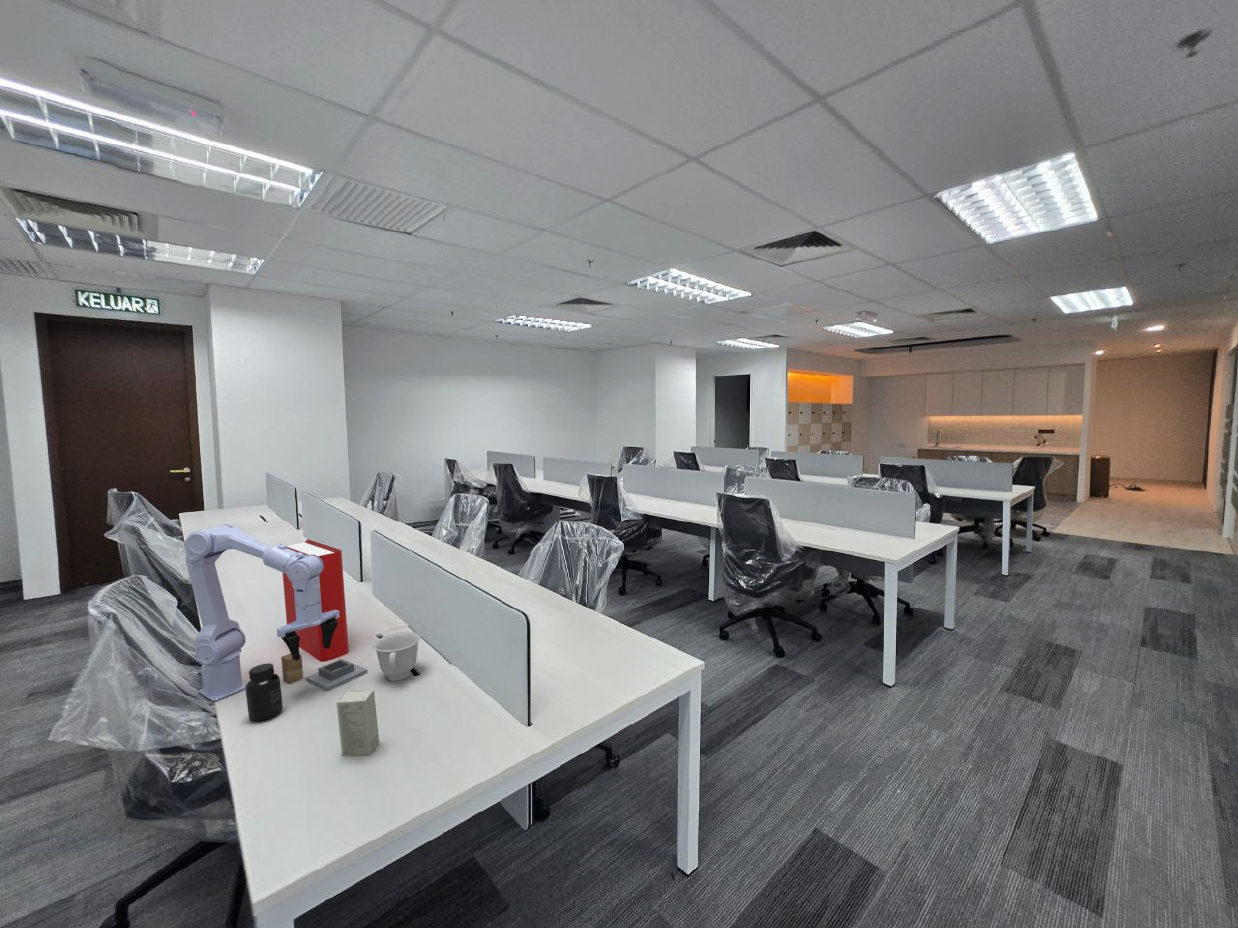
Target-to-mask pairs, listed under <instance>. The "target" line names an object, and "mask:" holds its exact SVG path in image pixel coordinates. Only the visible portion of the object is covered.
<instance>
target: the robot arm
mask: <svg viewBox="0 0 1238 928" xmlns="http://www.w3.org/2000/svg"><path fill="white" fill-rule="evenodd" d="M186 537H187V538H186V539H185V540H184V541H183V547H184V551H185V554H186V557H185V564H186V567H187V571H188V572H187V573H188V576H189V580H190V583H191V587H192V591H193V595H194V599H195V602H196V605H197V606H196V607H197V610H198V614H199V618H200V622H201V624H202V628H201V630H200V631H199V632H198V633H197V635H196V637H195V638H194V640H195V641H194V642H195V651H194V655H195V658H196V659H197V661H198V662H199V663H201V670H200V672H201V678H202V679H201V681H202V689H200V690H198V693H199V694H201V695H202V696H204V697H205V698H206V699H207V698H208V699H209V700H210V701H212V702H216V699H217V701H219V700H222V699H224V698H226V697H229V696H231V695H234V694H236V693H239V692H241V691H244V690H246V689H245V687H246V684H247V683H246V682H244V681H243V678H242V677H243V676H242V668H241V657H240V654H241V653H242V648H243V647H244V646H245V644H246V635H245V633H244V632H243V630H242V629H241V627H240V624H239V622H238V621H235V620H233V619H230V617H229V614H228V609H227V606H226V601H225V596H224V593H223V589H222V586H221V582H220V579H219V574H218V571H217V566H216V562H217V560H219V558H220V557H221V555H223V553H225V552H226V551H228V550H236V551H238V552H242V553H245V554H248V555H250V556H253V557H257V558H260V559H262V562H263V565H264V566H266V567H269V568H270V569H271V568H272V569H273V570H276V571H278V572H281V573H282V574H283V573H285V574H287V576H288V578H289V579H290V580H291V582H292V587H293V588H294V596H295V610H296V621H294V622H292V623H290V624H287V623H286V624H285V625H283V626H281V627H279V628H277V629H276V636H277V637H278V638H280V639H282V640H283V642H284V644H285V645H286V646H287V648H288V650H289V652H290V653H291V655H292V658H293V660H295V661H298V660H300V654H301V653H300V647H299V641H300V636H298V635H297V633H295V632H297V631H300V630H303V629H305V628H308V627H311V626H316V625H319V624H320V626H321V631H322V639H323V647H324V648H326V649H329V648H330V645H331V640H332V637H333V634H334V631H335V629H336V627H337V625H338V621H337V620H336V619H338V618H340V614H339V611H338V610H333V611H329V612H324V613H322V609H321V594H320V580H319V574H320V573H321V572H322V571H323V567H324V565H323V561H322V560H321V559H320V558H319V557H318V556H316V555H315V554H310V555H303V553H301V552H300V553H298V552H295V551H293V550H290V549H288V548H287V546H288V545H285V544H281V545H280V544H275V545H272V546H271V545H268V544H267V543H265V542H263V541H261V540H259V539H256V538H255V537H253V536H251V535H248V534H246V533H245V532H242V530H241V528H240V527H239V526H234V525H232V524H230V523H229V524H228V523H224V524H220V525H218V526H214V527H210V528H206V529H201V530H195V531H193V532H192V533H190V534H189V535H188V536H186ZM317 575H318V576H317ZM315 576H316V577H315Z"/></svg>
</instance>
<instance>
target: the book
mask: <svg viewBox="0 0 1238 928" xmlns="http://www.w3.org/2000/svg"><path fill="white" fill-rule="evenodd" d="M279 545H282V544H281V543H280V544H279ZM286 546H287V548H288V549H290V550H293V551H295V552H298V553H300V552H301V553H303V555H310V554H315V555H316V556H318V557H319V558H320V559H321V560H322V561H323V565H324V567H323V571H322V572H321V573H320V574H319V580H320V594H321V609H322V613H324V612H329V611H333V610H338V611H339V614H340V618H338V619H336V620H337V621H338V625H337V627H336V629H335V631H334V634H333V637H332V640H331V645H330V648H329V649H326V648H324V647H323V639H322V631H321V626H320V624H319V625H316V626H311V627H308V628H305V629H303V630H300V631H297V632H295V633H297V635H298V636H300V641H299V649H301V650H302V651H305V653H307V654H308V653H309V654H308V655H310V656H311V657H313V658H314V659H316V660H318V661H319V662H320V663H323V662H326V661H327V662H330V661H332V660H335V659H338V658H340V657H344V656H346V655H348V654H349V652H350V649H349V647H350V646H349V636H348V625H347V622H348V620H347V611H346V610H347V609H346V607H347V606H346V597H345V596H346V595H345V593H346V592H345V583H344V582H345V581H344V569H343V568H344V567H343V558H342V557H343V555H342V550H341V549H339V548H336V547H333V546H331V545H326V544H323V543H320V542H317V541H314V540H312V539H306V540H305V541H304V542H300V543H295V544H294V543H293V544H290V545H286ZM317 576H318V575H317ZM315 577H316V576H315ZM282 581H283V583H282V584H283V593H284V604H285V618H286V625H287V624H290V623H292V622H294V621H296V610H295V596H294V588H293V587H292V582H291V580H290V579H289V578H288V576H287V574H285V573H283V572H282ZM329 660H330V661H329ZM327 662H326V663H327Z"/></svg>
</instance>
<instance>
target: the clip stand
mask: <svg viewBox="0 0 1238 928" xmlns="http://www.w3.org/2000/svg"><path fill="white" fill-rule="evenodd" d="M366 674H368V669H367V668H365V667H363V666H360V665H357V664H355V663H353V662H351V661H348V660H346V659H342V658H339V659H338V660H335V661H333V662H330V663H329V664H326V665H324V666H321V667H318V671H316V672H314V673H312V674H310V675H307V676H305V681H306V682H308V683H309V684H312V685H314V686H316V687H318V688H320V689H322V690H324V691H326V692H328V691H329V692H330V691H331V690H333V689H335V688H338V687H340V686H342V685H344V684H346V683H349V682H351V681H353V680H355V679H357V678H359V677H361V676H363V675H366ZM354 678H355V679H354ZM352 679H353V680H352ZM350 680H351V681H350ZM343 683H344V684H343Z"/></svg>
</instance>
